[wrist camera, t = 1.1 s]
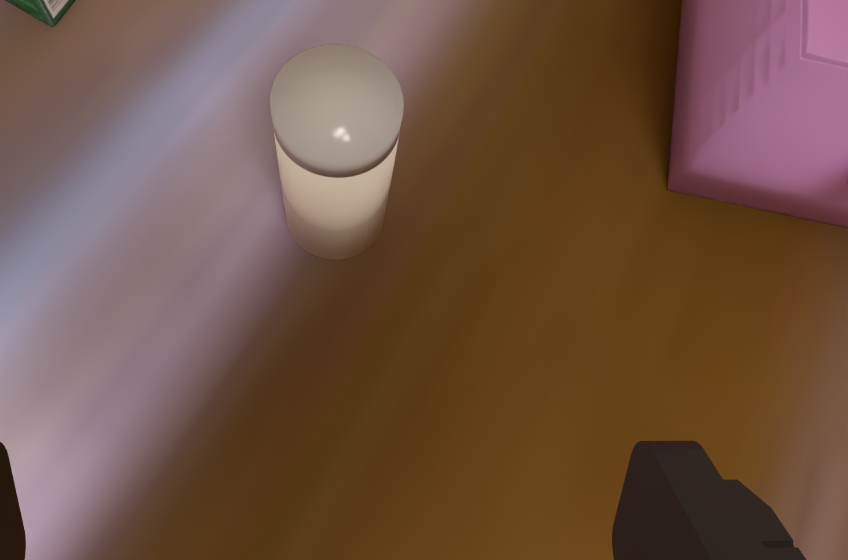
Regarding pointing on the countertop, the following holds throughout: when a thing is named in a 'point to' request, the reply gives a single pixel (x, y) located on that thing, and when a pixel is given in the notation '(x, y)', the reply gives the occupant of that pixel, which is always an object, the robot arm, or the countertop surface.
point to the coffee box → (44, 9)
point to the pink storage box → (763, 106)
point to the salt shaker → (336, 146)
